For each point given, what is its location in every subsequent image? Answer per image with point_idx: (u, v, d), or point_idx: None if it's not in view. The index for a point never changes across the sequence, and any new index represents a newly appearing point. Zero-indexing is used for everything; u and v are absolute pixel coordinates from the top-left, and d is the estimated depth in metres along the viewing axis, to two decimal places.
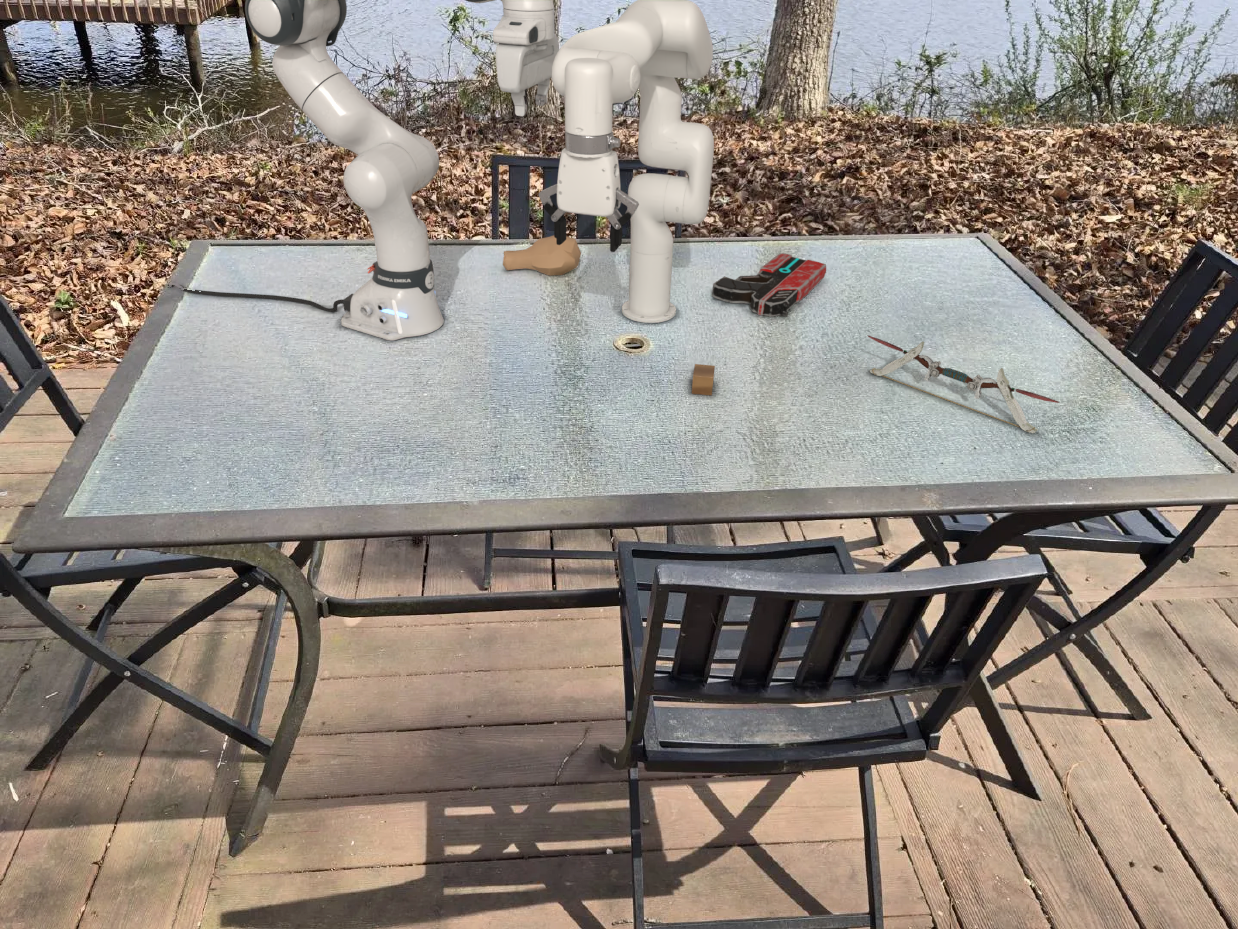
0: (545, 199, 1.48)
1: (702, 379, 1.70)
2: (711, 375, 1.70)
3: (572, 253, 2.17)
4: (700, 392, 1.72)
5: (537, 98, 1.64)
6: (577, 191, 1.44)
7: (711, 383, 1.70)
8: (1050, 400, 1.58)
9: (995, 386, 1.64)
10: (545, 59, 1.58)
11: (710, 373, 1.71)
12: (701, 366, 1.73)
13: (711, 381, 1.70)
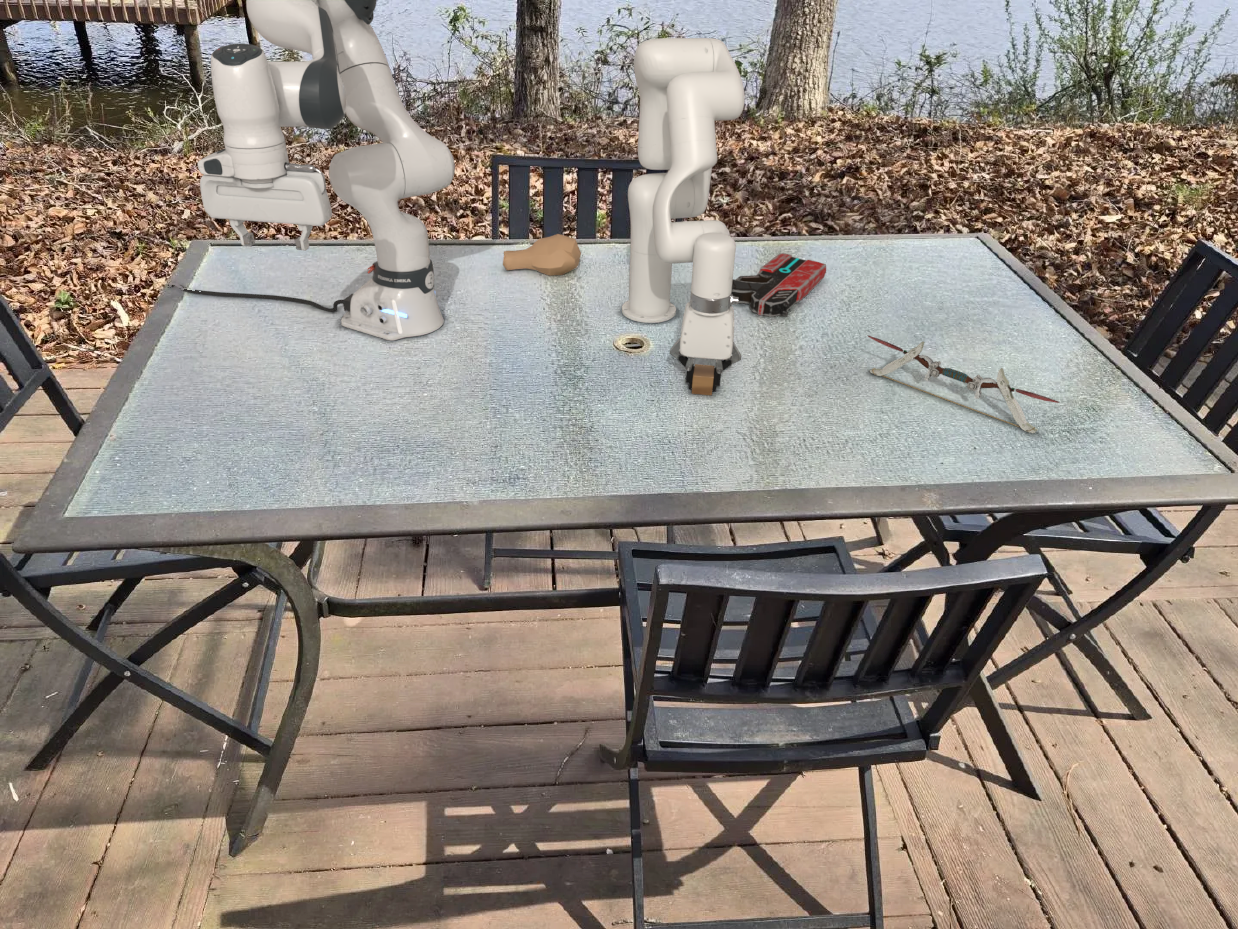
0: (677, 354, 1.70)
1: (702, 379, 1.70)
2: (711, 376, 1.70)
3: (572, 253, 2.17)
4: (700, 392, 1.72)
5: None
6: (700, 341, 1.66)
7: (711, 383, 1.70)
8: (1050, 400, 1.58)
9: (995, 386, 1.64)
10: (276, 201, 1.38)
11: (710, 373, 1.71)
12: (701, 366, 1.73)
13: (711, 381, 1.70)
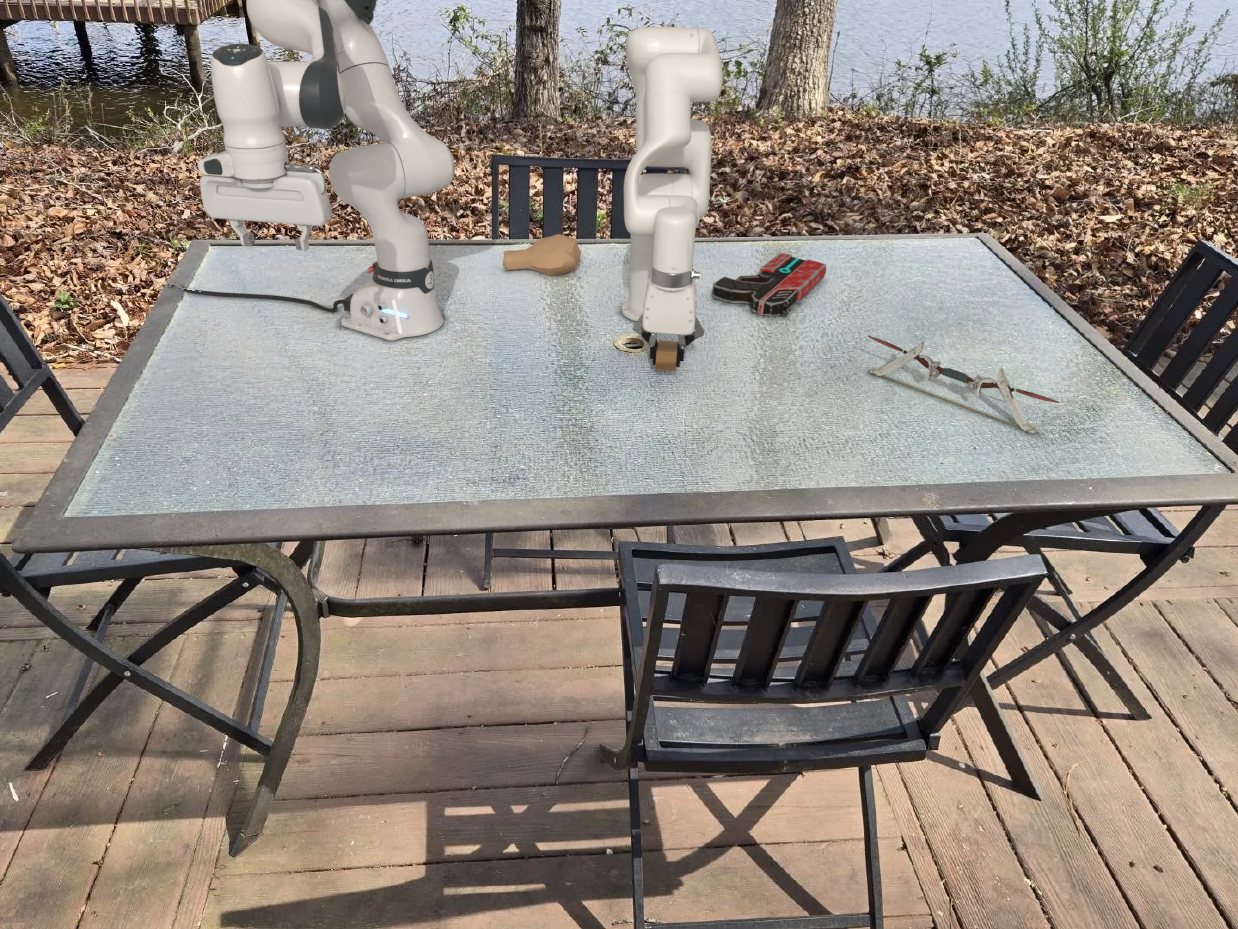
0: (640, 330, 1.70)
1: (665, 354, 1.70)
2: (675, 351, 1.70)
3: (572, 253, 2.17)
4: (664, 368, 1.72)
5: None
6: (663, 316, 1.66)
7: (674, 359, 1.71)
8: (1050, 400, 1.58)
9: (995, 386, 1.64)
10: (276, 201, 1.38)
11: (674, 349, 1.71)
12: (665, 342, 1.73)
13: (674, 357, 1.70)
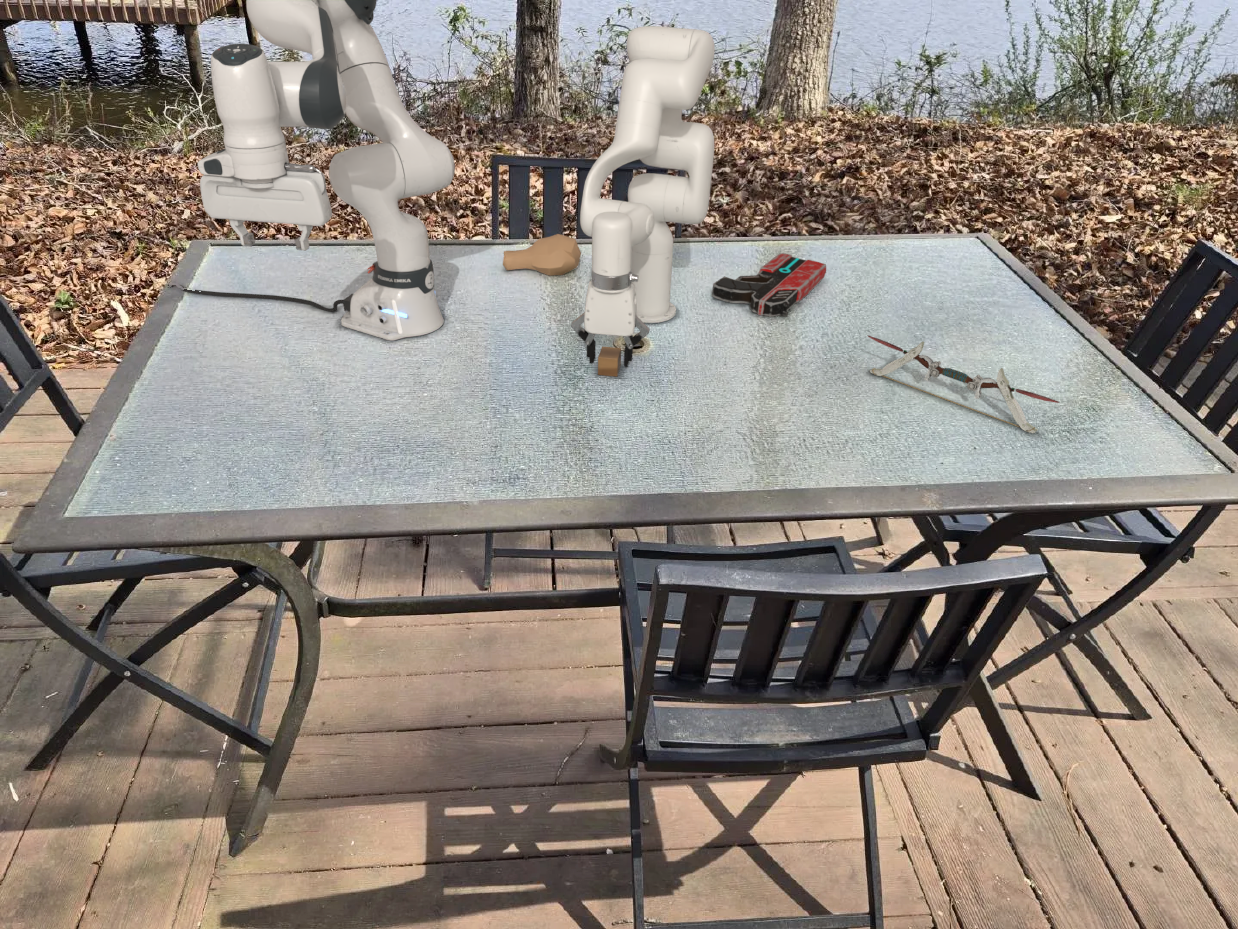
0: (577, 328, 1.75)
1: (607, 360, 1.75)
2: (616, 357, 1.75)
3: (572, 253, 2.17)
4: (606, 373, 1.77)
5: None
6: (603, 318, 1.71)
7: (616, 364, 1.76)
8: (1050, 400, 1.58)
9: (995, 386, 1.64)
10: (276, 201, 1.38)
11: (615, 355, 1.76)
12: (608, 348, 1.79)
13: (616, 362, 1.75)
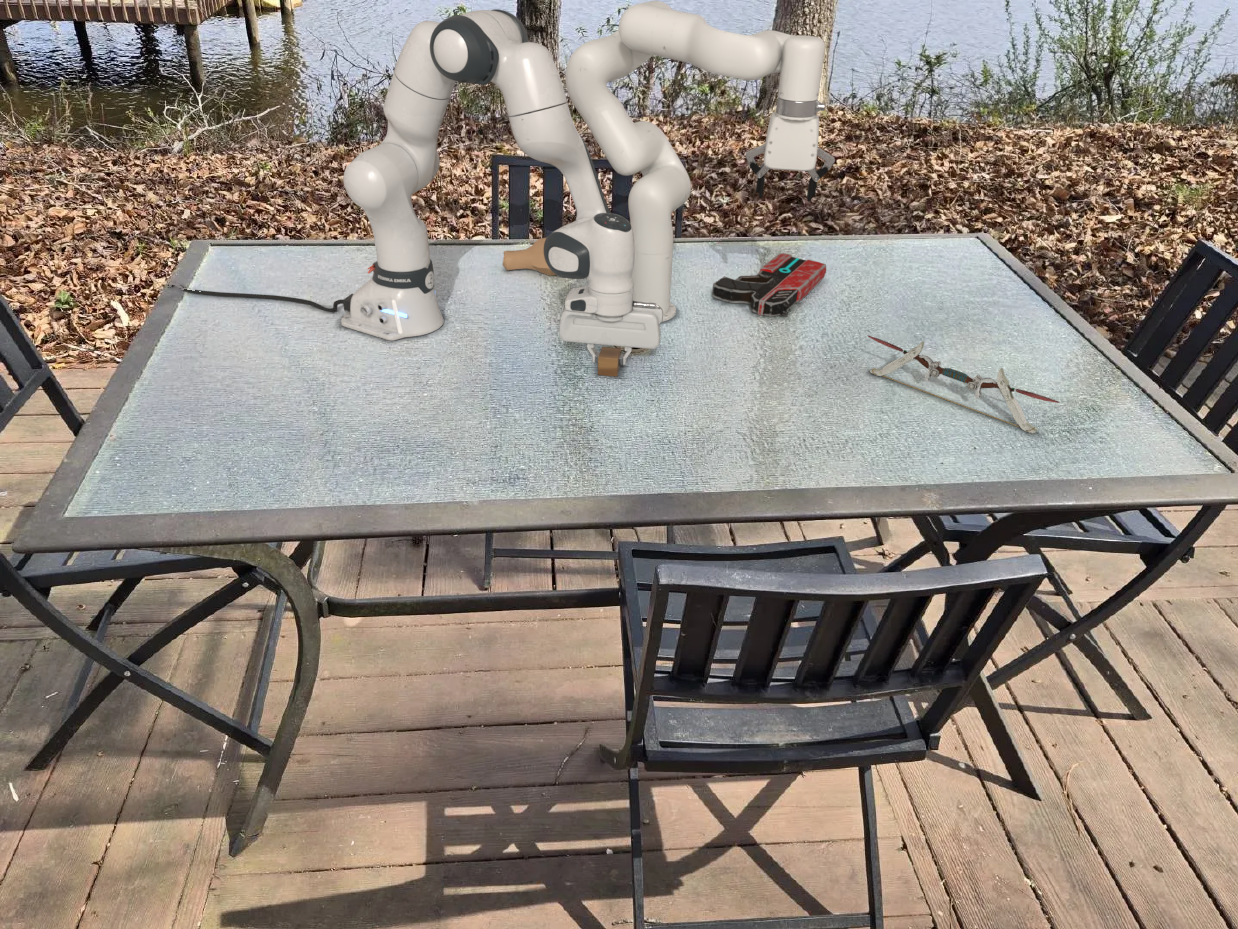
0: (751, 159, 1.72)
1: (607, 360, 1.75)
2: (616, 357, 1.75)
3: None
4: (606, 373, 1.77)
5: None
6: (785, 150, 1.69)
7: (616, 364, 1.76)
8: (1050, 400, 1.58)
9: (995, 386, 1.64)
10: (622, 330, 1.72)
11: (615, 355, 1.76)
12: (608, 348, 1.79)
13: (616, 362, 1.75)
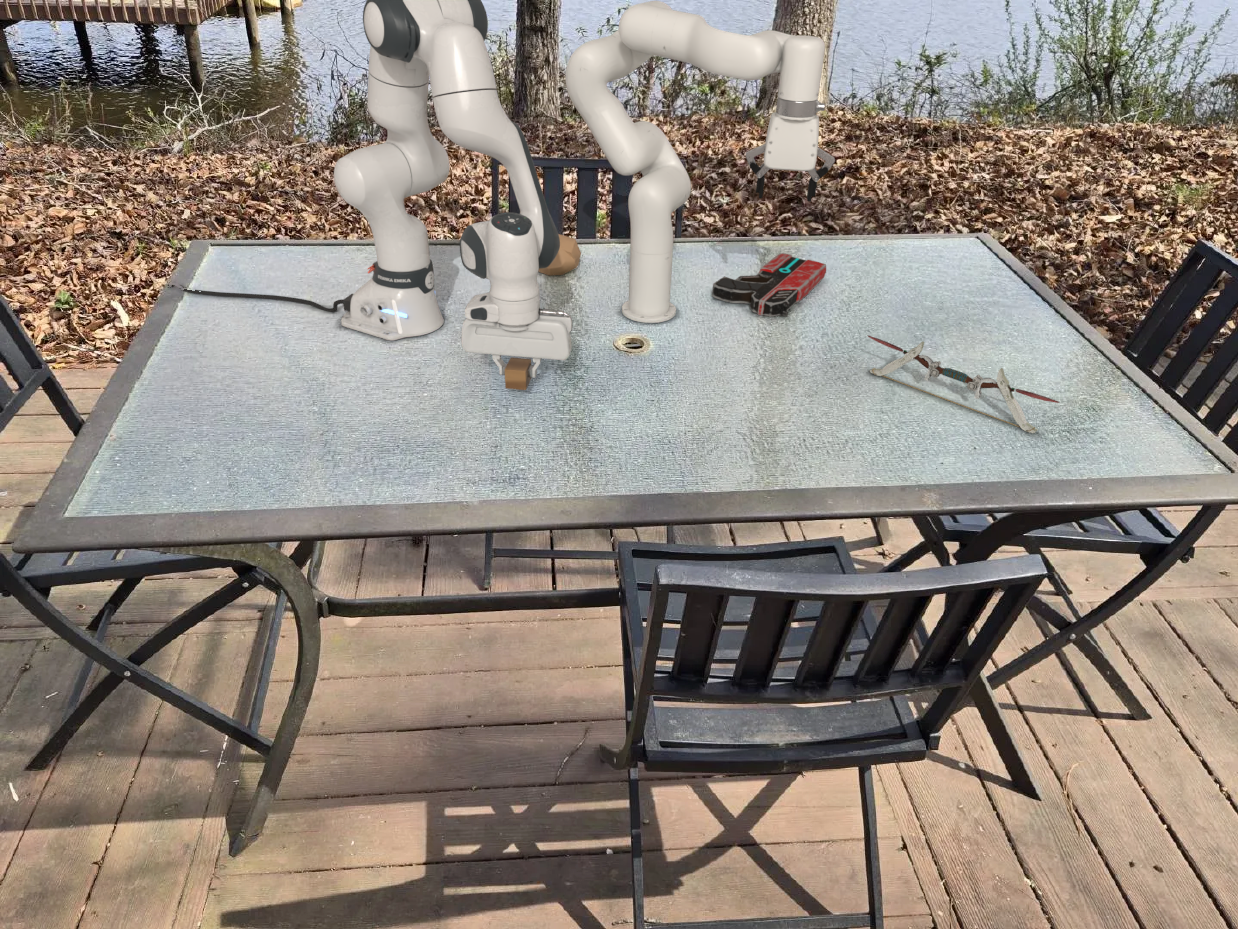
0: (751, 159, 1.72)
1: (514, 373, 1.62)
2: (524, 369, 1.62)
3: (572, 253, 2.17)
4: (514, 387, 1.64)
5: None
6: (785, 150, 1.69)
7: (524, 377, 1.62)
8: (1050, 400, 1.58)
9: (995, 386, 1.64)
10: (528, 340, 1.59)
11: (524, 367, 1.63)
12: (516, 359, 1.65)
13: (523, 375, 1.62)
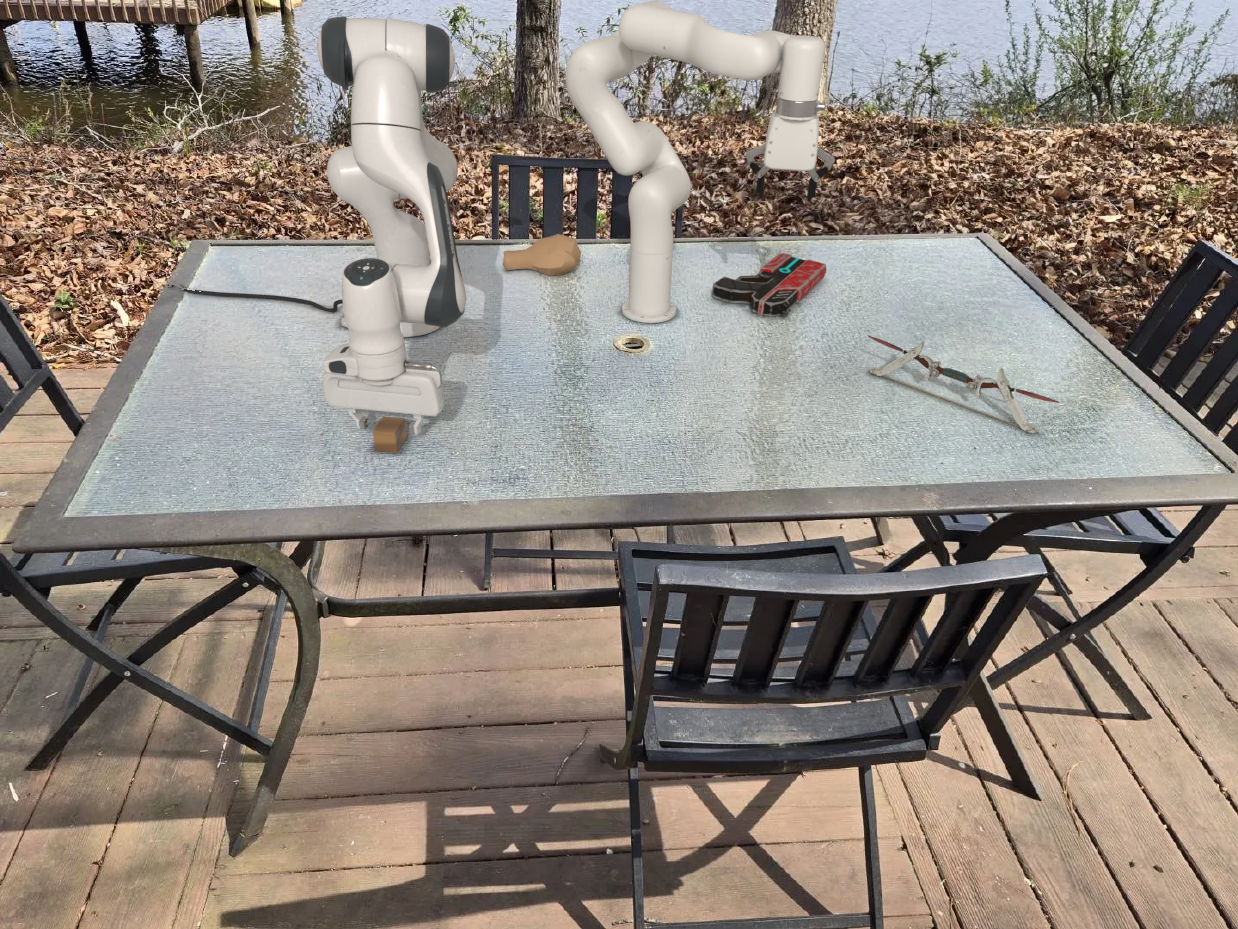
0: (751, 159, 1.72)
1: (383, 435, 1.50)
2: (393, 431, 1.50)
3: (572, 253, 2.17)
4: (384, 449, 1.52)
5: None
6: (785, 150, 1.69)
7: (393, 439, 1.50)
8: (1050, 400, 1.58)
9: (995, 386, 1.64)
10: (394, 395, 1.46)
11: (394, 428, 1.51)
12: (388, 419, 1.53)
13: (393, 437, 1.50)
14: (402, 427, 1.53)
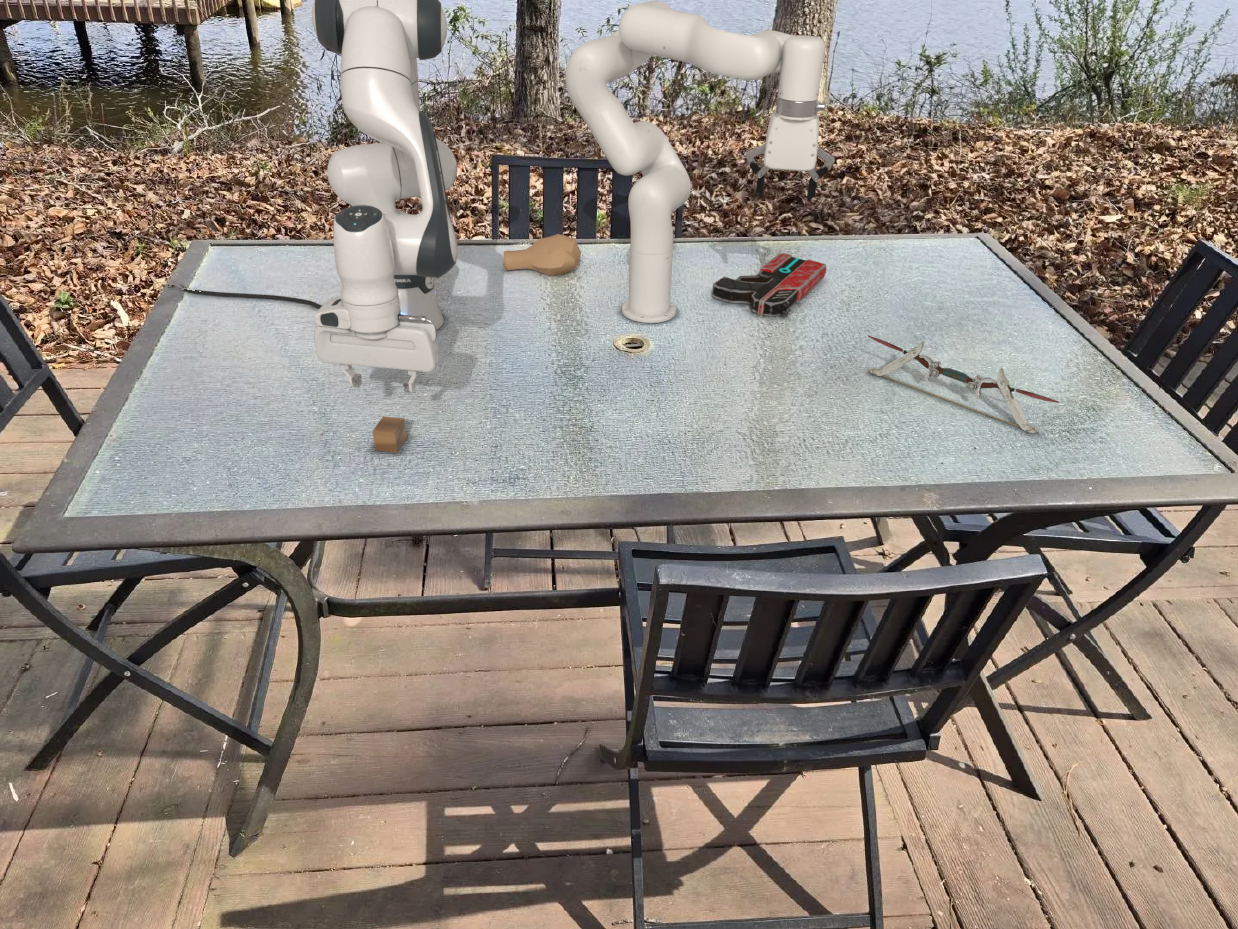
0: (751, 159, 1.72)
1: (383, 435, 1.50)
2: (393, 431, 1.50)
3: (572, 253, 2.17)
4: (384, 449, 1.52)
5: None
6: (785, 150, 1.69)
7: (393, 439, 1.50)
8: (1050, 400, 1.58)
9: (995, 386, 1.64)
10: (388, 349, 1.42)
11: (394, 428, 1.51)
12: (388, 419, 1.53)
13: (393, 437, 1.50)
14: (402, 427, 1.53)
